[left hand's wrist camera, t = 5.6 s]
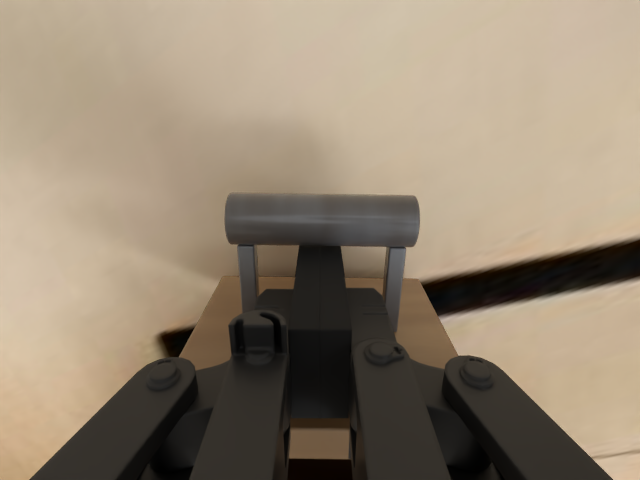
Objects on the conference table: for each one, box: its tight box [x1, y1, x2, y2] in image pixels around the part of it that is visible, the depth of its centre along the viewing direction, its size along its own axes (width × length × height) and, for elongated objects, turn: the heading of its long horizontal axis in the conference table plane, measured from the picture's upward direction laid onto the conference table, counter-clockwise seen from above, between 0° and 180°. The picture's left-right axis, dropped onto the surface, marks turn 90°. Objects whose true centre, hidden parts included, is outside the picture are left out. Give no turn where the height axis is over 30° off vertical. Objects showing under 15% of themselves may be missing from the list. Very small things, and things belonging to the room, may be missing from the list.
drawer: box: [179, 193, 458, 480], centre depth 17 cm, size 26×10×9 cm, turn 179°
